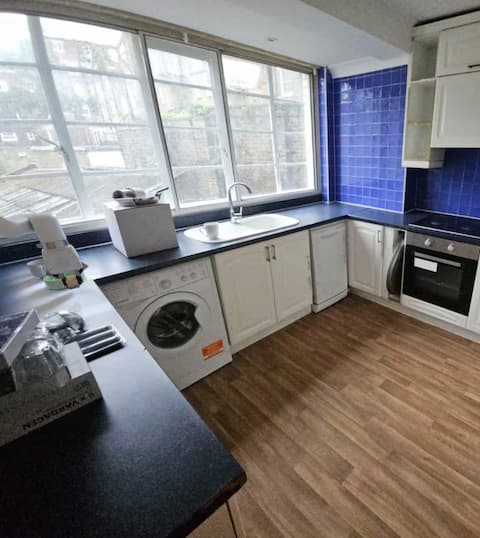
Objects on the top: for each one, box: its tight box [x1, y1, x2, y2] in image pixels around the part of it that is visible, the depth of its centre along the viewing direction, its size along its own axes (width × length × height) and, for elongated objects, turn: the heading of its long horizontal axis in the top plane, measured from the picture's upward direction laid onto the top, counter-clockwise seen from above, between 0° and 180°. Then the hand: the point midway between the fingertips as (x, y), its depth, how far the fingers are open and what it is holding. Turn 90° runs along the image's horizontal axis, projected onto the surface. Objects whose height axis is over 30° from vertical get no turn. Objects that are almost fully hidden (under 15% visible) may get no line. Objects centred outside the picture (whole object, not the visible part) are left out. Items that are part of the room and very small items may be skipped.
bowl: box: [42, 271, 87, 291], centre depth 133 cm, size 13×13×4 cm
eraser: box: [66, 275, 81, 290], centre depth 125 cm, size 6×3×4 cm, turn 39°
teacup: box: [26, 258, 47, 279], centre depth 140 cm, size 14×11×8 cm
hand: (74, 284), depth 125 cm, fingers closed on eraser, 3 cm apart
